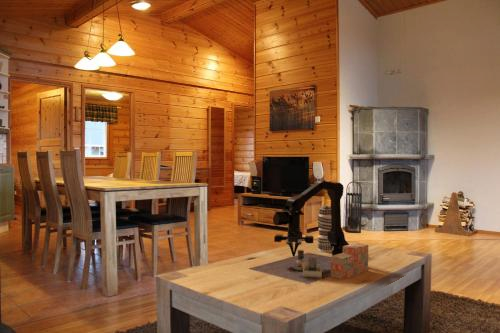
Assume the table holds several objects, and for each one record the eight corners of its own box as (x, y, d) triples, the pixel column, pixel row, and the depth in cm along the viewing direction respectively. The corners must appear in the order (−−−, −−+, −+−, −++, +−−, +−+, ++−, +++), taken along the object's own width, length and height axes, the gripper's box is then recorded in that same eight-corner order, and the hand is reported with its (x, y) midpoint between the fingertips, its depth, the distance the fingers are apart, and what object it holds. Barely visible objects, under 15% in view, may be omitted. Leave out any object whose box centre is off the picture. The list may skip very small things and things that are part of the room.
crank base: (306, 268, 204) (306, 259, 204) (305, 271, 198) (306, 262, 198) (293, 267, 205) (293, 259, 205) (292, 270, 199) (292, 262, 199)
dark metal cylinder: (316, 272, 194) (316, 256, 194) (316, 274, 191) (316, 258, 190) (308, 272, 195) (308, 256, 195) (308, 274, 191) (308, 258, 191)
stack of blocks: (342, 279, 186) (343, 251, 186) (330, 276, 190) (330, 248, 190) (368, 270, 201) (368, 244, 201) (356, 268, 205) (356, 242, 205)
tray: (321, 272, 196) (321, 267, 196) (321, 277, 188) (321, 272, 188) (303, 271, 197) (303, 266, 197) (302, 276, 189) (302, 270, 189)
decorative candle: (317, 248, 249) (317, 205, 249) (333, 249, 248) (334, 205, 247) (317, 251, 240) (317, 206, 240) (334, 252, 239) (335, 207, 238)
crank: (303, 266, 200) (303, 255, 200) (296, 266, 200) (296, 255, 200) (304, 261, 211) (304, 250, 210) (297, 260, 211) (297, 250, 211)
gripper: (272, 226, 203) (272, 259, 204) (313, 227, 200) (312, 261, 200) (275, 222, 214) (275, 254, 215) (313, 224, 211) (313, 255, 211)
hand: (293, 256), depth 210 cm, fingers closed
